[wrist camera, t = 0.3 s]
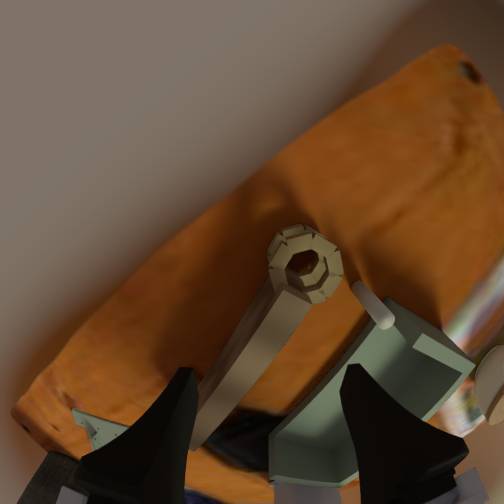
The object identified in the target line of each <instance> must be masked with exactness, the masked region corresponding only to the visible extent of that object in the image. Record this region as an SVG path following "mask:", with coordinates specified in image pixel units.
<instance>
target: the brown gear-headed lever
mask: <svg viewBox="0 0 504 504" xmlns="http://www.w3.org/2000/svg"><path fill="white" fill-rule="evenodd" d="M281 230H282V234H281V233H280V232H277V234H276V235H275V237H274V239H273V241H272V242H271V244H270V246H269V247H268V249H267V250H268V253H267V258H268V261H269V265H268V270H269V275H268V277H267V279H266V280H265V282H264V284H263V285H262V287H261V289H260V290H259V292H258V293H257V295H256V297H255V298H254V300H253V301H252V303H251V305H250V306H249V308H248V309H247V311H246V313H245V314H244V316H243V317H242V319H241V321H240V322H239V324H238V325H237V327H236V329H235V330H234V332H233V333H232V335H231V336H230V338H229V340H228V341H227V343H226V344H225V346H224V347H223V349H222V350H221V352H220V354H219V355H218V357H217V358H216V360H215V361H214V363H213V364H212V366H211V367H210V369H209V371H208V372H207V374H206V375H205V377H204V378H203V380H202V381H201V383H200V384H199V386H198V387H197V388H198V393H199V400H198V409H197V416H196V420H195V424H194V428H193V432H192V437H191V441H190V445H189V450H191V451H194V452H195V451H196V450H197V448H198V447H199V446H200V445H201V444H202V443H203V442H204V441H205V440H206V439H207V438H208V437H209V436H210V435H211V434H212V432H213V431H214V430H215V429H216V428H217V427H218V426H219V425H220V424H221V422H222V421H223V420H224V419H225V418H226V417H227V416H228V414H229V413H230V412H231V411H232V410H233V409H234V408H235V406H236V405H237V404H238V403H239V402H240V400H241V399H242V398H243V397H244V396H245V395H246V393H247V392H248V391H249V390H250V388H251V387H252V386H253V385H254V384H255V382H256V381H257V380H258V379H259V377H260V376H261V375H262V374H263V372H264V371H265V370H266V368H267V367H268V366H269V365H270V363H271V362H272V361H273V359H274V358H275V357H276V355H277V354H278V353H279V352H280V350H281V349H282V348H283V346H284V345H285V344H286V342H287V341H288V339H289V338H290V337H291V335H292V334H293V333H294V331H295V330H296V328H297V327H298V326H299V324H300V323H301V321H302V320H303V319H304V317H305V316H306V314H307V313H308V311H309V310H310V309H311V307H312V306H313V304H317V303H320V302H324V301H326V299H325V296H327V297H329V298H330V297H331V296H332V294H333V293H334V291H335V290H336V288H337V287H338V285H339V284H340V282H341V280H342V279H343V278H342V276H341V274H344V271H343V265H342V260H341V255H340V250H339V249H337V248H336V247H337V246H336V245H335V244H333V243H332V242H330V241H329V240H327V239H326V238H325V236H324V235H323V234H321V233H319V232H318V231H316V230H314V229H313V228H311V227H309V226H308V225H306V224H305V225H304V226H303V225H302V224H298V225H294V226H290V227H286V228H283V229H281ZM310 249H312V250H314V251H316V256H317V258H316V259H315V261H314V263H313V264H312V266H311V267H310V269H308V270H305V271H301V272H296V271H295V270H293V269H291V268H289V267H287V266H286V265H287V264H288V262H289V261H290V259H291V257H292V256H293V254H295V253H299V252H302V251H306V250H310ZM316 280H318V283H317V282H316Z"/></svg>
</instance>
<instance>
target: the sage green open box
mask: <svg viewBox="0 0 504 504" xmlns="http://www.w3.org/2000/svg"><path fill="white" fill-rule="evenodd" d="M351 291H352V293H353V294H354V295H355V296H356V298H357V299H358V300H359V301H360V303H361V304H362V305H363V307H364V308H365V309H366V310H367V312H368V313H369V314H370V316H371V317H372V318H371V319H370V321H369V322H368V324H367V325H366V326H365V328H364V329H363V330H362V332H361V333H360V334H359V336H358V337H357V338H356V340H355V341H354V342H353V343H352V345H351V346H350V347H349V348H348V350H347V351H346V352H345V353H344V355H343V356H342V357H341V358H340V360H339V361H338V362H337V363H336V364H335V366H334V367H333V368H332V369H331V370H330V371H329V373H328V374H327V375H326V376H325V377H324V378H323V379H322V381H321V382H320V383H319V384H318V385H317V386H316V387H315V388H314V389H313V390H312V392H311V393H310V394H309V395H308V396H307V397H306V398H305V399H304V400H303V401H302V402H301V403H300V404H299V405H298V406H297V407H296V408H295V409H294V410H293V411H292V412H291V413H290V414H289V415H288V416H287V417H286V418H285V419H284V420H283V421H282V422H281V423H280V424H279V425H278V426H277V427H276V428H275V429H274V430H273V431H271V432H270V433H269V434H268V438H269V479H271V480H276V481H282V482H288V483H294V484H301V485H309V486H319V487H331V488H341V487H342V486H344V485H346V484H347V483H349V482H350V481H352V480H354V479H355V478H357V477H358V476H359V472H358V464H357V458H356V453H355V448H354V444H353V441H352V438H351V435H350V431H349V428H348V425H347V422H346V419H345V416H344V413H343V410H342V405H341V399H340V393H339V390H340V387H341V384H342V381H343V378H344V375H345V371H346V368H347V365H348V364H355V363H360V364H361V365H362V366H363V367H364V369H365V370H366V371H367V372H368V373H369V374H370V375H371V376H372V377H373V378H374V379H375V381H376V382H377V383H378V384H379V385H380V386H381V387H382V388H383V389H384V390H385V391H386V392H387V393H388V394H389V395H390V396H391V397H392V398H394V399H395V400H396V401H397V402H398V403H399V404H400V405H402V406H403V407H404V408H405V409H407V410H408V411H409V412H411V413H412V414H413V415H415V416H416V417H418V418H419V419H421V420H423V421H424V422H427V421H428V420H429V419H430V418H431V417H432V416H433V415H434V414H435V413H436V412H437V410H438V409H439V408H440V407H441V406H442V405H443V404H444V403H445V402H446V401H447V400H448V399H449V398H450V396H451V395H452V394H453V393H454V392H455V391H456V390H457V388H458V387H459V386H460V385H461V384H462V382H463V381H464V380H465V379H466V377H467V376H468V375H469V374H470V372H471V371H472V370H473V368H474V367H475V366H476V365H475V363H474V362H473V361H472V360H471V359H470V358H469V357H468V356H467V355H466V354H465V353H464V352H463V351H462V350H461V349H460V348H459V347H458V346H457V345H456V344H455V343H454V342H452V341H451V340H450V339H449V338H448V337H447V336H446V335H445V334H444V333H443V332H442V331H440V330H439V329H437V328H436V327H434V326H432V325H431V324H429V323H428V322H426V321H425V320H423V319H422V318H420V317H418V316H417V315H415V314H414V313H412V312H411V311H409V310H407V309H406V308H404V307H403V306H401V305H399V304H398V303H396V302H395V301H393V300H391V299H390V298H388V297H386V298H385V299H384V301H383V302H381V301H380V300H379V299H378V298H377V297H376V295H375V294H374V293H373V292H372V291H371V290H370V289H369V288H368V287H367V286H366V285H365V284H364V283H363V282H362V281H355V282H354V283H353V284H352V286H351Z"/></svg>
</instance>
